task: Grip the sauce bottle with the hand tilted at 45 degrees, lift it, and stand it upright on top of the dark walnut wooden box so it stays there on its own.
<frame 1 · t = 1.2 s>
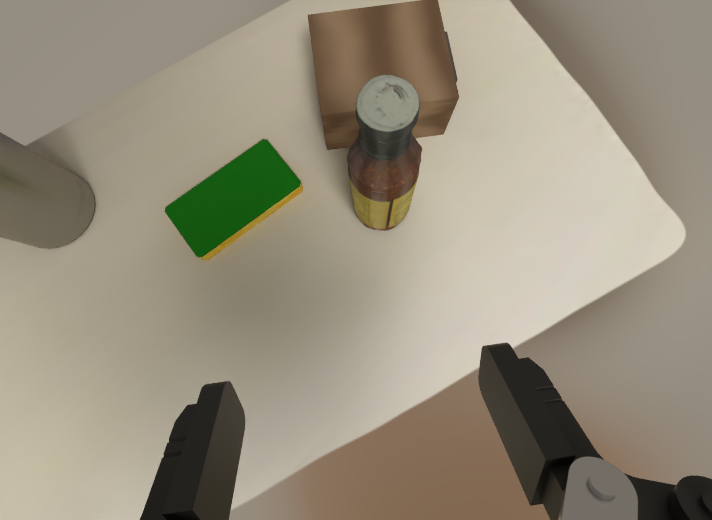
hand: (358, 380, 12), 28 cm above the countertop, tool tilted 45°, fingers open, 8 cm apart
sauce bottle: (379, 208, 42), on the countertop
walnut box: (377, 97, 45), on the countertop
dish sponge: (240, 203, 43), on the countertop
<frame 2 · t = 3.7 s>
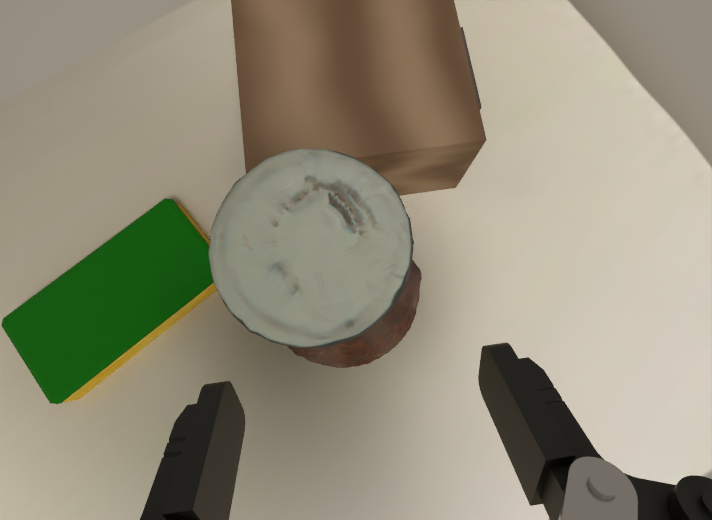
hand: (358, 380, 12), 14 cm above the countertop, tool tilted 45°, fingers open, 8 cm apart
sauce bottle: (354, 308, 27), on the countertop
walnut box: (354, 129, 29), on the countertop
dish sponge: (136, 299, 27), on the countertop
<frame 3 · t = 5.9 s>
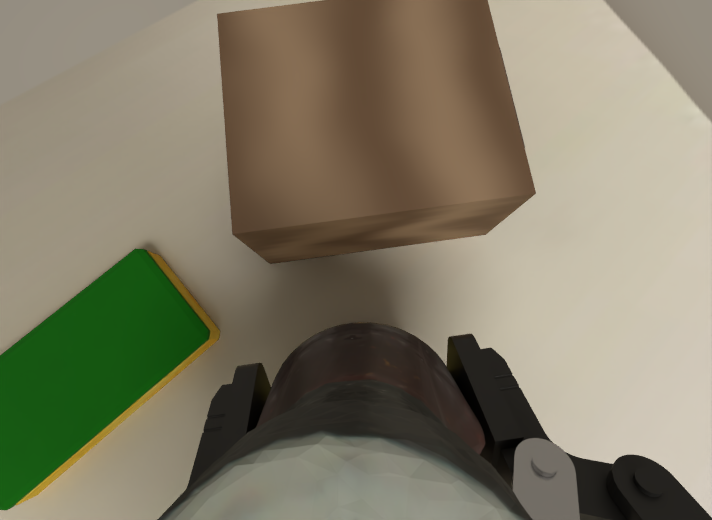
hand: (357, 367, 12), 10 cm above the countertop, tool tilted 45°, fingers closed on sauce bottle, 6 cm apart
sauce bottle: (364, 382, 22), on the countertop, touching gripper
walnut box: (365, 163, 25), on the countertop
dish sponge: (105, 366, 23), on the countertop
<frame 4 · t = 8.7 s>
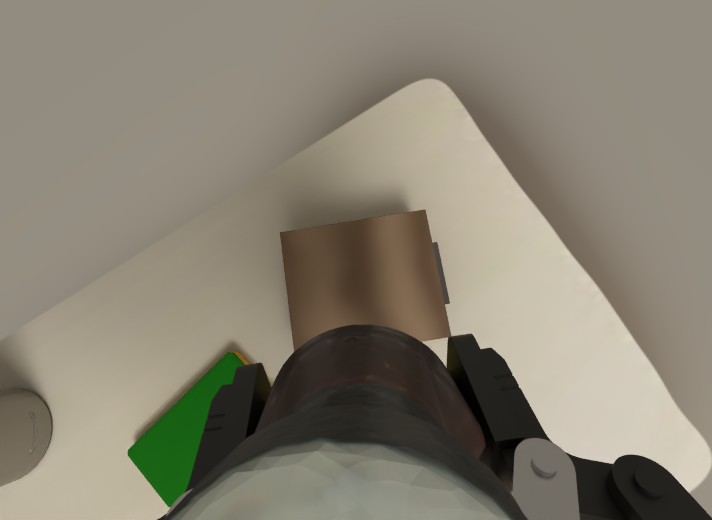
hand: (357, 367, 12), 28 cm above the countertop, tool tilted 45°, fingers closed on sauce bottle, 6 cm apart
sauce bottle: (364, 382, 22), point 17 cm above the countertop, touching gripper
walnut box: (363, 291, 41), on the countertop
dish sponge: (212, 421, 39), on the countertop
when the fingers open (19 cm above the countertop, at t = 11.9 s): sauce bottle drops 1 cm, resting on walnut box.
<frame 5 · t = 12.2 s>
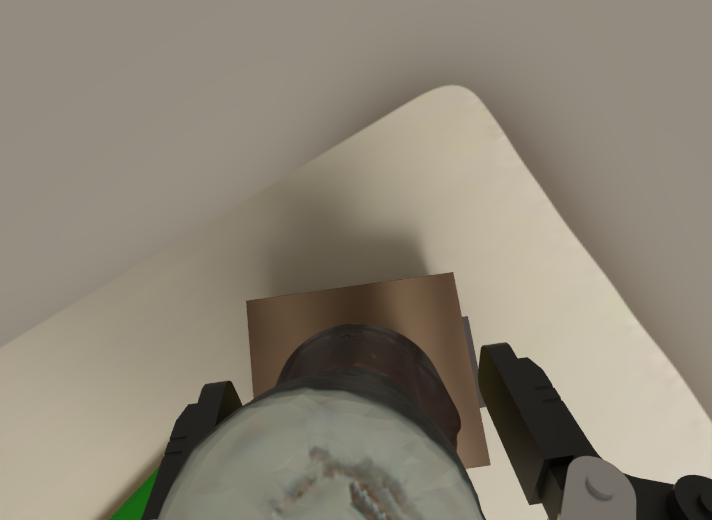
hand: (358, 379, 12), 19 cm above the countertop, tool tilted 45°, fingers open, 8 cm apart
sauce bottle: (366, 382, 23), point 7 cm above the countertop, touching walnut box
walnut box: (362, 369, 30), on the countertop
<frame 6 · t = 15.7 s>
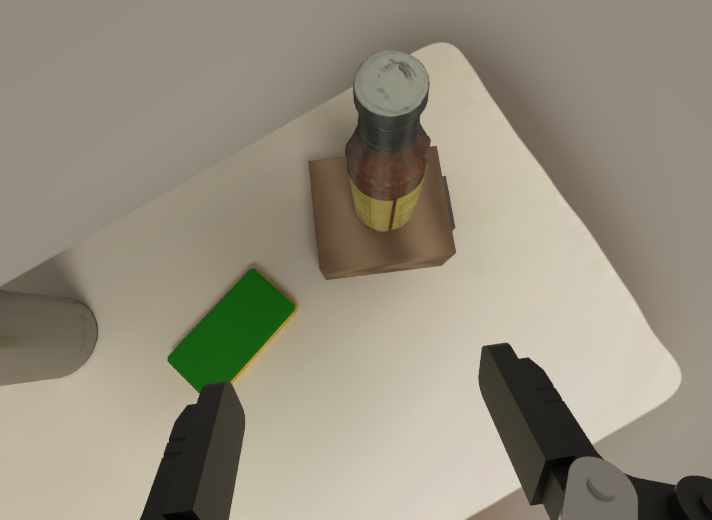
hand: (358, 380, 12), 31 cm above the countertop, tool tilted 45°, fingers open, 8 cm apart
sauce bottle: (382, 208, 39), point 7 cm above the countertop, touching walnut box
walnut box: (377, 225, 45), on the countertop
dish sponge: (239, 333, 44), on the countertop
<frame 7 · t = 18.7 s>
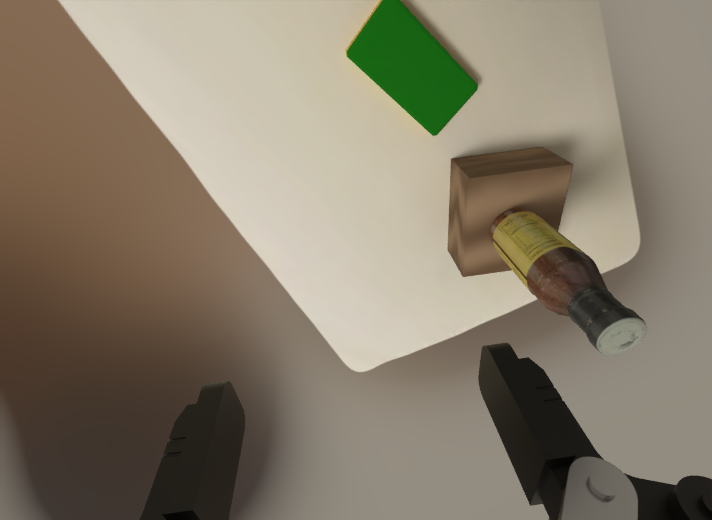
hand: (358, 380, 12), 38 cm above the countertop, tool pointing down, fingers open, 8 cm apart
sauce bottle: (510, 226, 46), point 7 cm above the countertop, touching walnut box
walnut box: (491, 202, 52), on the countertop
dish sponge: (409, 68, 42), on the countertop
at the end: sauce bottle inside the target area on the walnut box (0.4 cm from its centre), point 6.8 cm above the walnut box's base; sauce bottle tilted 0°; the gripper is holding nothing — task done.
